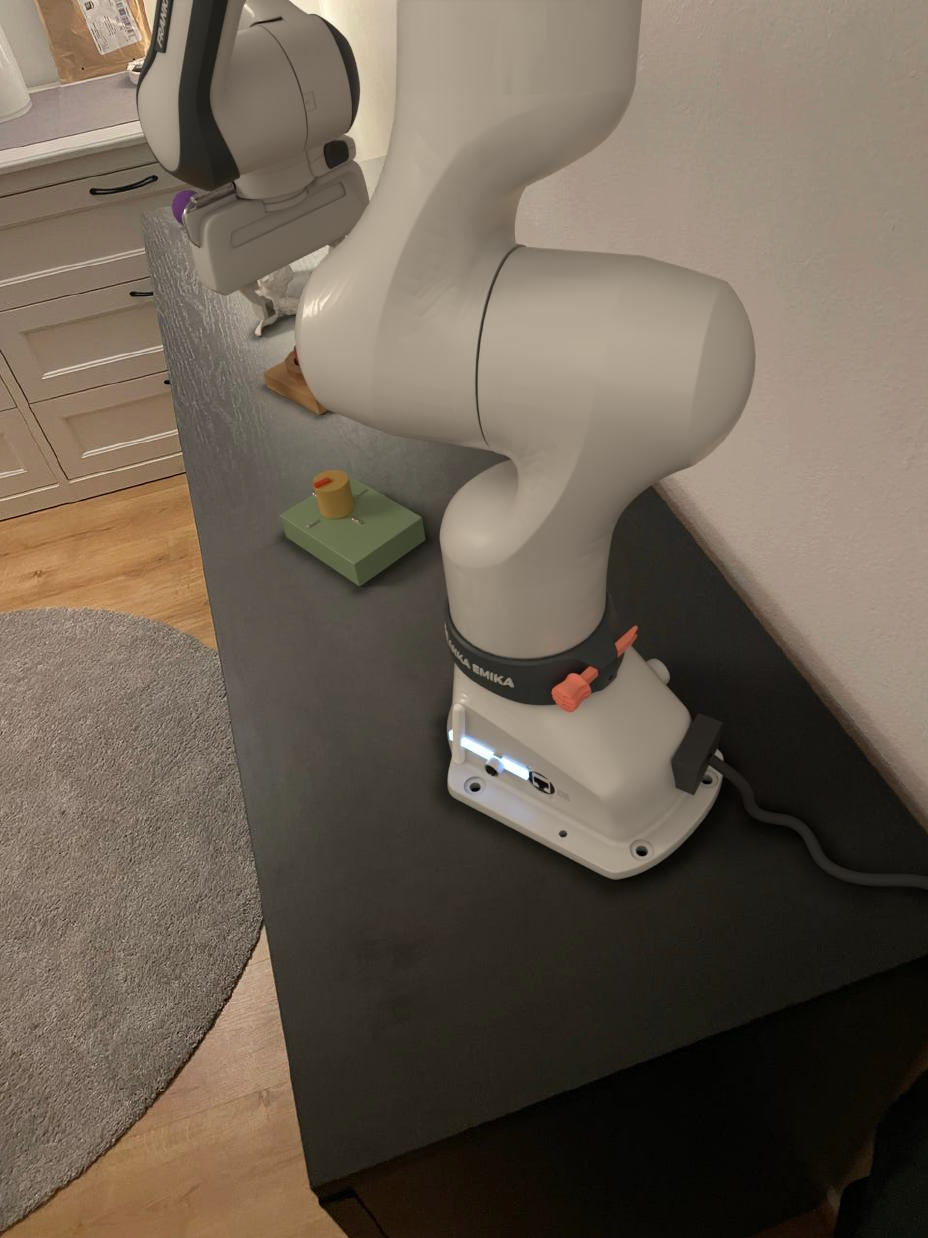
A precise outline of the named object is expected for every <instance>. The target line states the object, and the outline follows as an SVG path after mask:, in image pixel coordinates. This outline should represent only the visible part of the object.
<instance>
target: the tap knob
mask: <svg viewBox="0 0 928 1238" xmlns="http://www.w3.org/2000/svg"><path fill="white" fill-rule="evenodd" d="M347 474H348V473H346V472H345V471H343V470H341V469H328V470H325V471H322V472H320V473H318V474H317V475H316V476H315V477H314V478H313V480H312V487H313V490H314V491H313V492H315V495H316V498H317V502H318V506H319V510H320V513H321V515H322V516H324V517H326V518H329V519H339V518H342V517H345V516H347V515H349V514H350V513H351V512H352V511H353V509H354V506H355V504H354V500H353V495H352V491H351V486H350V482H349V478H348V475H349V474H348V475H347Z"/></svg>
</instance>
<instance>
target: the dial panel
mask: <svg viewBox="0 0 928 1238" xmlns="http://www.w3.org/2000/svg"><path fill="white" fill-rule="evenodd" d="M346 474H347V475H348V478H349V482H350V486H351V491H352V495H353V500H354V504H355V506H354V509H353V511H352V512H351V513H350V514H349V515H347V516H345V517H342V518H339V519H329V518H326V517H324V516H322V515H321V513H320V510H319V506H318V502H317V498H316V495H315V491H313V493H311V495H309V496H307V497H306V498H304V499H303V500H301V501H300V502H298V503H297V504H295V505H293V506H292V507H290V508H288V509H287V510H286V511H284V512H282V513H280V514H279V517H280V522H281V524H282V528H283V530H284V535H285V537H286V538H287V539H288V540H290V541H292V542H293V543H294V544H295V545H297V546H299V547H300V548H302V549H303V550H305V551H307V552H308V553H309V554H310V555H312V556H314V558H316V559H318V560H320V562H323V563H324V564H326V565H327V566H329V567H330V568H331V569H333V570H334V571H336V572H337V573H339V574H340V575H342V576H343V577H344V578H346V579H347V580H349V581H351V582H352V583H353V584H355V585H356V586H357V587H361V586H363V585H364V584H366V583H367V582H368V581H370V580H371V579H372V578H374V577H376V576H377V575H379V574H380V573H382V572H383V571H384V570H386V569H387V568H388V567H390V566H391V565H392V564H394V563H395V562H397V561H398V560H400V559H402V557H404V556H405V555H407V554H408V553H409V552H411V551H412V550H413V549H415V548H416V547H418V546H420V544H422V543H423V542H425V541H426V540H427V539H426V534H425V527H424V519H423V517H422V516H420V515H419V514H417V513H415V512H414V511H412V510H410V509H408V508H407V507H405V506H403V505H402V504H400V503H398V502H396V501H394V500H393V499H391V498H389V497H388V496H386V495H384V494H382V493H380V492H379V491H378V490H376V489H374V488H372V487H370V486H368V485H367V484H365V483H363V482H362V481H360V480H358V479H356V478H355V477H353V476H351V475H350V474H348V473H346Z"/></svg>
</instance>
